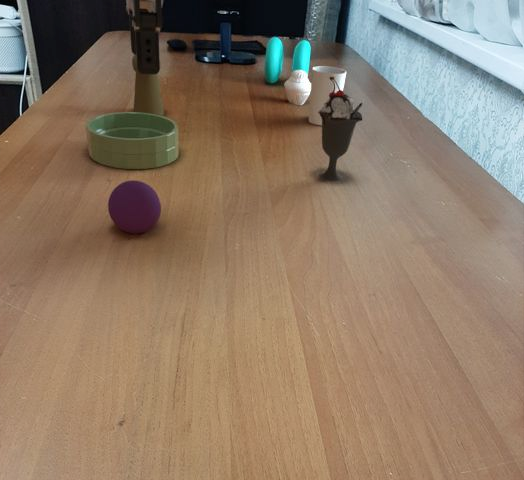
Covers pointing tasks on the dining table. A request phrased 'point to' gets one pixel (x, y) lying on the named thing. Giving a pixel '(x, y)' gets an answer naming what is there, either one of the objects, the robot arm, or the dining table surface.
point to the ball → (134, 207)
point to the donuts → (276, 58)
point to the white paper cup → (323, 89)
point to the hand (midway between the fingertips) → (144, 63)
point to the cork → (147, 92)
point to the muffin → (297, 87)
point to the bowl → (132, 140)
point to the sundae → (337, 128)
